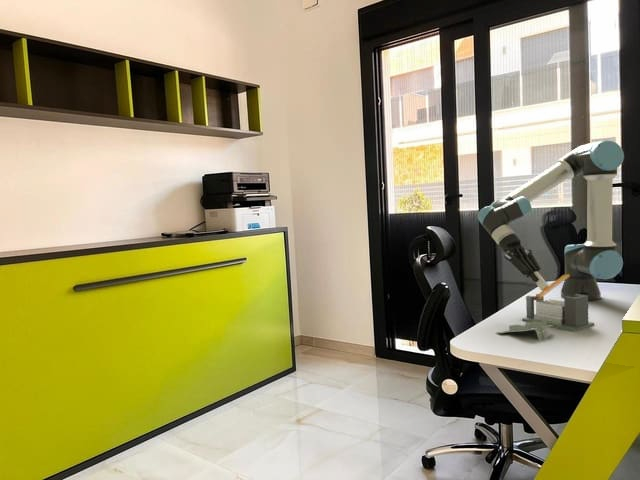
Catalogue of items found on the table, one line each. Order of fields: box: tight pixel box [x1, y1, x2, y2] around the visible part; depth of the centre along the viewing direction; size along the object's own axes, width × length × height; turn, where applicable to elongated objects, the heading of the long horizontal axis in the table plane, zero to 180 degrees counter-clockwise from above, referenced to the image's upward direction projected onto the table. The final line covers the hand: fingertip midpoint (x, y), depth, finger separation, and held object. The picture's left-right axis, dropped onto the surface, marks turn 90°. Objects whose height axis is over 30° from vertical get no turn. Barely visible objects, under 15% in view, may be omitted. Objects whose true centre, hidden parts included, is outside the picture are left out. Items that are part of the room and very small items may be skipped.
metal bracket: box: [495, 320, 553, 341], centre depth 158 cm, size 14×6×15 cm
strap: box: [534, 274, 570, 301], centre depth 170 cm, size 16×3×1 cm
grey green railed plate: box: [521, 314, 595, 332], centre depth 169 cm, size 19×12×1 cm, turn 29°
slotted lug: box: [563, 294, 589, 327], centre depth 163 cm, size 4×7×10 cm, turn 119°
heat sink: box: [525, 293, 565, 325], centre depth 171 cm, size 14×9×8 cm, turn 29°
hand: (545, 288), depth 171 cm, fingers closed
